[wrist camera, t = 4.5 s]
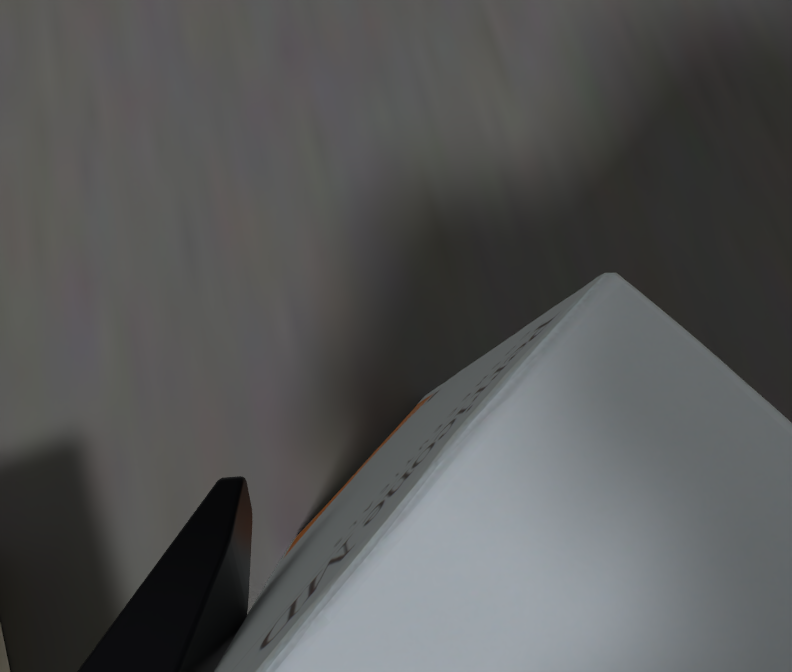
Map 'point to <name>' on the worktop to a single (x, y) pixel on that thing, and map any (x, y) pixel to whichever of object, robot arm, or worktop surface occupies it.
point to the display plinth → (3, 654)
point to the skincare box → (553, 517)
